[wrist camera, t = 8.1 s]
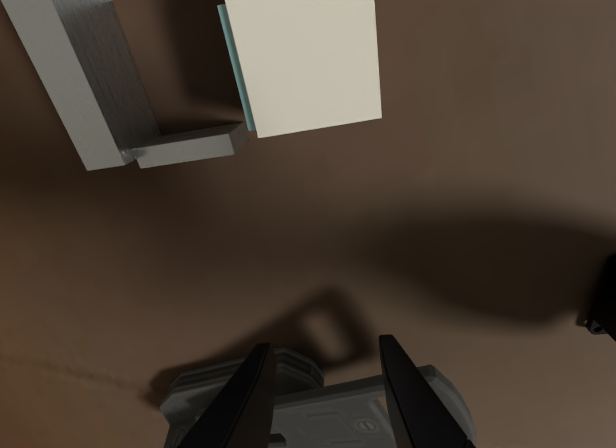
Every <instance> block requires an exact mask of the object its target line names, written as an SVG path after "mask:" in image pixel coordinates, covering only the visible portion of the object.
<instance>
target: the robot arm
mask: <svg viewBox="0 0 616 448" xmlns="http://www.w3.org/2000/svg"><path fill="white" fill-rule="evenodd" d="M586 328H587V329H588V330H589V331H590V333H592V334H596V335H597V334H609V335H610V336H611V337H612V338H613V339H614V340H615V341H616V255H614V256H612V257H610V258H609V259H608V261H607V263H606V266H605V269H604V272H603V275H602V278H601V281H600V284H599V287H598V290H597V294H596V297H595V300H594V303H593V306H592V309H591V312H590V315H589V318H588V321H587V324H586ZM379 350H380V359H381V367H382V374H383V381H384V388H385V395H386V402H387V408H388V414H389V418H390V422H391V426H392V430H393V434H394V438H395V442H396V446H397V448H476V447H475V446H474V444H473V443H472V442H471V440H469V439H468V436H467V435H466V434H465V432H464V431H463V430H462V428H461V427H460V426H459V424H458V423H457V421H456V420H455V419H454V417H453V416H452V415H451V413H450V412H449V411H448V409H447V408H446V407H445V405H444V404H443V402H442V401H441V400H440V398H439V397H438V396H437V394H436V393H435V392H434V390H433V389H432V388H431V386H430V385H429V384H428V382H427V381H426V379H425V378H424V377H423V375H422V374H421V373H420V371H419V370H418V369H417V367H416V366H415V365H414V363H413V362H412V360H411V359H410V358H409V356H408V355H407V354H406V352H405V351H404V350H403V348H402V347H401V346H400V344H399V343H398V342H397V340H396V339H395V337H394V336H393V335H390V334H389V335H380V336H379ZM276 371H277V362H276V357H275V354H274V351H273V348H272V345H271V343H269V342H265V343H258V344H257V345H256V346H255V347H254V348H253V350H252V351H251V352H250V353H249V355H248V356H247V357H246V359H245V360H244V361H243V362H242V364H241V365H240V366H239V368H238V369H237V370H236V371H235V373H234V374H233V375H232V377H231V378H230V379H229V380H228V382H227V383H226V384H225V386H224V387H223V388H222V389H221V391H220V392H219V393H218V395H217V396H216V397H215V398H214V400H213V401H212V402H211V403H210V405H209V406H208V407H207V409H206V410H205V411H204V412H203V414H202V415H201V416H200V418H199V419H198V420H197V421H196V423H195V424H194V425H193V427H192V428H191V429H190V430H189V432H188V433H187V434H186V436H185V437H184V438H183V439H182V441H181V442H180V445H178V446H177V447H176V448H268V444H269V438H270V432H271V427H272V420H273V411H274V398H275V385H276Z"/></svg>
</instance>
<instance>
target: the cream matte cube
mask: <svg viewBox="0 0 616 448" xmlns="http://www.w3.org/2000/svg"><path fill="white" fill-rule="evenodd" d="M225 3H226V4H222V5H217V7H218V11H219V15H220V19H221V23H222V27H223V31H224V35H225V39H226V43H227V47H228V51H229V55H230V58H231V62H232V66H233V70H234V74H235V78H236V82H237V86H238V90H239V94H240V98H241V102H242V106H243V110H244V113H245V117H246V121H247V125H248V129H249V131H251V130H257V134H258V138H262V137H268V136H275V135H281V134H287V133H293V132H299V131H305V130H311V129H317V128H323V127H329V126H335V125H341V124H347V123H353V122H360V121H366V120H372V119H378V118H382V115H381V99H380V83H379V68H378V52H377V36H376V20H375V4H374V0H225Z"/></svg>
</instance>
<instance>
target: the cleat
mask: <svg viewBox="0 0 616 448" xmlns="http://www.w3.org/2000/svg"><path fill="white" fill-rule="evenodd" d="M1 1H2V3H3V5H4V7H5V9H6V11H7V13H8V15H9V17H10V19H11V21H12V23H13V25H14V27H15V29H16V31H17V33H18V35H19V37H20V39H21V41H22V43H23V45H24V47H25V49H26V51H27V53H28V55H29V57H30V59H31V61H32V63H33V65H34V67H35V69H36V71H37V73H38V74H39V76H40V78H41V80H42V82H43V84H44V86H45V88H46V90H47V92H48V94H49V96H50V98H51V100H52V102H53V104H54V106H55V108H56V110H57V112H58V114H59V116H60V118H61V120H62V122H63V124H64V126H65V128H66V130H67V132H68V134H69V136H70V138H71V140H72V142H73V144H74V146H75V148H76V150H77V152H78V154H79V155H80V157H81V159H82V161H83V163H84V165H85V167H86V169H87V171H90V170H96V169H103V168H109V167H116V166H122V165H126V164H128V163H130V162H132V161H134V160H136V159H137V161H138V164H139V166H140V168H148V167H154V166H161V165H168V164H174V163H181V162H187V161H194V160H201V159H207V158H214V157H221V156H227V155H234V154H235V153H236V152H237V151H238V150H239V149H240V148H241V147H242V146H243V145H244V144H245V143H246V142H247V141H248V140H249V139H248V135H247V131H246V127H245V123H244V122H241V123H235V124H229V125H223V126H217V127H211V128H205V129H199V130H193V131H187V132H181V133H175V134H168V135H162V136H161V133H160V130H159V128H158V125H157V122H156V120H155V117H154V114H153V112H152V109H151V106H150V104H149V101H148V98H147V96H146V93H145V90H144V88H143V85H142V82H141V80H140V77H139V74H138V72H137V69H136V66H135V64H134V61H133V58H132V56H131V53H130V50H129V48H128V45H127V42H126V40H125V37H124V34H123V32H122V29H121V26H120V24H119V21H118V18H117V16H116V13H115V10H114V7H113V5H112V2H111V1H110V0H1Z"/></svg>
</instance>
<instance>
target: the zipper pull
mask: <svg viewBox="0 0 616 448" xmlns="http://www.w3.org/2000/svg"><path fill="white" fill-rule="evenodd" d="M273 351H274V354H275V357H276V362H277V371H276V385H275V398H274V411H273V420H272V427H271V432H270V438H269V444H268V448H397V446H396V442H395V438H394V434H393V430H392V426H391V422H390V418H389V415H388V414H387V412H386V411H385V409H384V408H383V407H382V405H381V404H380V402H379V401H378V399H377V397H385V396H386V395H385V388H384V381H383V374H382V375H377V376H372V377H368V378H364V379H360V380H355V381H350V382H345V383H340V384H335V385H330V386H326V387H324V374H323V373H322V371H321V370H320V369H319V367H318V366H317V365H316V364H315V362H314V361H313V360H312V359H310V358H308V357H306V356H303V355H301V354H299V353H297V352H295V351H293V350H291V349H289V348H286V347H282V348H278V349H274V350H273ZM246 357H247V356H245V357H241V358H237V359H233V360H229V361H225V362H221V363H217V364H213V365H209V366H205V367H200V368H196V369H192V370H187V371H183V372H182V373H181V374H180V375H179V376H178V377H177V378H176V379H175V380H174V382H173V383H172V384H171V385H170V386H169V388H168V390H167V392H166V394H165V396H164V398H163V400H162V402H161V404H160V407H159V409H160V410H161V412H162V413H163V415H164V417H165V418H166V420H167V421H168V423H169V424H170V427H169V431H168V434H167V438H166V441H165V444H164V448H176V447H177V446H178V445H180V442H181V441H182V439H183V438H184V437H185V436H186V434H187V433H188V432H189V430H190V429H191V428H192V427H193V425H194V424H195V423H196V421H197V420H198V419H199V418H200V416H201V415H202V414H203V412H204V411H205V410H206V409H207V407H208V406H209V405H210V403H211V402H212V401H213V400H214V398H215V397H216V396H217V395H218V393H219V392H220V391H221V389H222V388H223V387H224V386H225V384H226V383H227V382H228V380H229V379H230V378H231V377H232V375H233V374H234V373H235V371H236V370H237V369H238V368H239V366H240V365H241V364H242V362H243V361H244V360H245V359H246ZM417 369H418V370H419V371H420V373H421V374H422V375H423V377H424V378H425V379H426V381H427V382H428V384H429V385H430V386H431V388H432V389H433V390H434V392H435V393H436V394H437V396H438V397H439V398H440V400H441V401H442V402H443V404H444V405H445V407H446V408H447V409H448V411H449V412H450V413H451V415H452V416H453V417H454V419H455V420H456V421H457V423H458V424H459V426H460V427H461V428H462V430H463V431H464V432H465V434H466V435H467V436H468V439H469V440H471V442H472V443H473V444H474V446H475V447H476V432H475V427H474V423H473V420H472V417H471V414H470V411H469V409H468V407H467V405H466V403H465V401H464V399H463V397H462V396H461V394H460V393H459V392H458V390H457V389H456V388H455V386H454V385H453V383H452V382H450V381H449V380H448V379H447V378H446V377H445V376H444V375H443V374H442V373H441V372H439V371H438V370H437V369H436V368H435V367H434V366H432V365H427V366H422V367H417ZM279 432H280V433H279ZM276 433H278V434H276Z"/></svg>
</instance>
